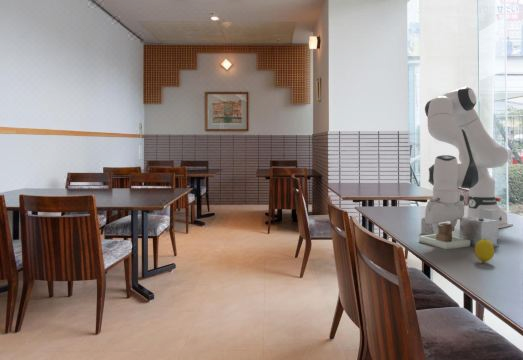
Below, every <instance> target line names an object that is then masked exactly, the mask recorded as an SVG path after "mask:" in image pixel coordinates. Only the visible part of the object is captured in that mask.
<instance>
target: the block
mask: <svg viewBox="0 0 523 360" xmlns="http://www.w3.org/2000/svg"><path fill="white" fill-rule="evenodd" d="M438 228H439V229H440V234H436V240H440V241H443V242H452V236H453V231H452V225H451V224H450V223H448V222H440V223H439V225H438Z"/></svg>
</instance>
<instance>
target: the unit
mask: <svg viewBox="0 0 523 360" xmlns="http://www.w3.org/2000/svg"><path fill="white" fill-rule="evenodd" d="M459 238H463V239H467V240H470V247H472V248H475V246H476V244H477V242H478V241H480V240H483V239H486V240H488V241H490V242H491V243H492V245H493V247H494V248H500V245H499V244H497V243H498V242H497V241H498V239H497V220H491V219H486V218H480V217H466V216H465V217H463V218H460V219H459Z"/></svg>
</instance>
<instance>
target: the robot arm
mask: <svg viewBox="0 0 523 360" xmlns="http://www.w3.org/2000/svg"><path fill="white" fill-rule="evenodd" d="M476 105H477V96H476V94H475V92H474V90H473V89H472V88H470V87H469V86H464V87H463V86H462V87H459V88H458V89H454V90H451V91H448V92H445V93H443V94H442V95H439V96H437V97H435V98H432V99H430V100H429V101H427V102H426V104H425V107H424V113H425V114H426V117H427V129H428V133H429V134H430V135H429V136H431V137H433V139H435V140H437V141H440V142H443V143H446V144H449V145H451V146H454V148H456V149H457V150H458V159H459V160H457V157H456V156H454V155H450V154H449V155H448V154H446V155H445V154H443V155H438V156H435V159H434V163H433V164H432V165H431V166H430V167H429V168H428V182H429V183H430V185H432V198H430V199H429V201H428V202H427V204H426V207H425V212H424V218H425V221H426V222H427V223H432V227H433V229H434V234H440V229H439V228H438V225H439V224H441V223H447V222H450V223H449V224H451V225H452V232H455V228H456V225H457V222H458V220H460V218H464V217H465V218H466V217H479V210H480V209H493V210H499V229H502V228H506V227H508V228H509V227H512V226H514V223H513V222H509V221H508V213H507V212H506V211H505V210H504V209H503V208H502V207H500V206H499V205H498V202H501V201H502V198H501V197H499V196H496V197H495V192H496V191H495V187H496V182H495V179H494V178H493V177H492V176H491V175H490V173H489V170H488V169H495V168H501V167H504V166H505V165H506V164H507V163H508V160H509V158H510V157H509V156H510V154H509V151H508V149H507V148H506V147H505V146H503V145H500V144H499V143H498V142H497V141H496V140H495V139H493V137H491V135H490V134H489V133H488V132H487V130H486V128H484V125H483V123H482V121H481V119H480V117H479V115H478V112H476V109H475V107H476ZM458 161H459V162H460V163H458ZM458 188H462V189H467V190H468V196H467V207H466V212H465V200H466V196H465V195H463V194H461V193H460V192H458V191H459V189H458Z"/></svg>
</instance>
